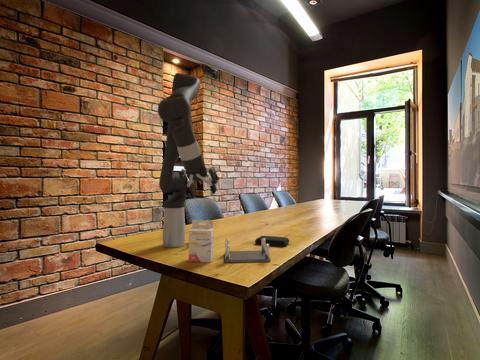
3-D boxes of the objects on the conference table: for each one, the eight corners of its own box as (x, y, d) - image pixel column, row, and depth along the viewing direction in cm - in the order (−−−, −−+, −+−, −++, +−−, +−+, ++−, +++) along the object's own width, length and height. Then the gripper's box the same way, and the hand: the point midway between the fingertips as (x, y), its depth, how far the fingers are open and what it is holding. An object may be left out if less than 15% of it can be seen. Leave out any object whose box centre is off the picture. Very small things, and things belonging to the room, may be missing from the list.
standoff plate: (225, 262, 101) (225, 246, 101) (224, 253, 113) (224, 239, 112) (270, 261, 102) (270, 245, 102) (265, 252, 114) (265, 238, 113)
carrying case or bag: (291, 243, 132) (261, 240, 138) (291, 236, 132) (261, 234, 138) (285, 248, 122) (253, 245, 128) (285, 241, 122) (253, 238, 128)
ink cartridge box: (188, 262, 102) (187, 221, 102) (191, 258, 107) (191, 219, 107) (211, 262, 101) (211, 222, 101) (214, 258, 106) (213, 219, 106)
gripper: (212, 148, 99) (224, 187, 107) (178, 152, 105) (192, 189, 112) (204, 157, 93) (217, 198, 100) (168, 161, 98) (183, 199, 106)
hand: (204, 193), depth 106 cm, fingers open, 8 cm apart
